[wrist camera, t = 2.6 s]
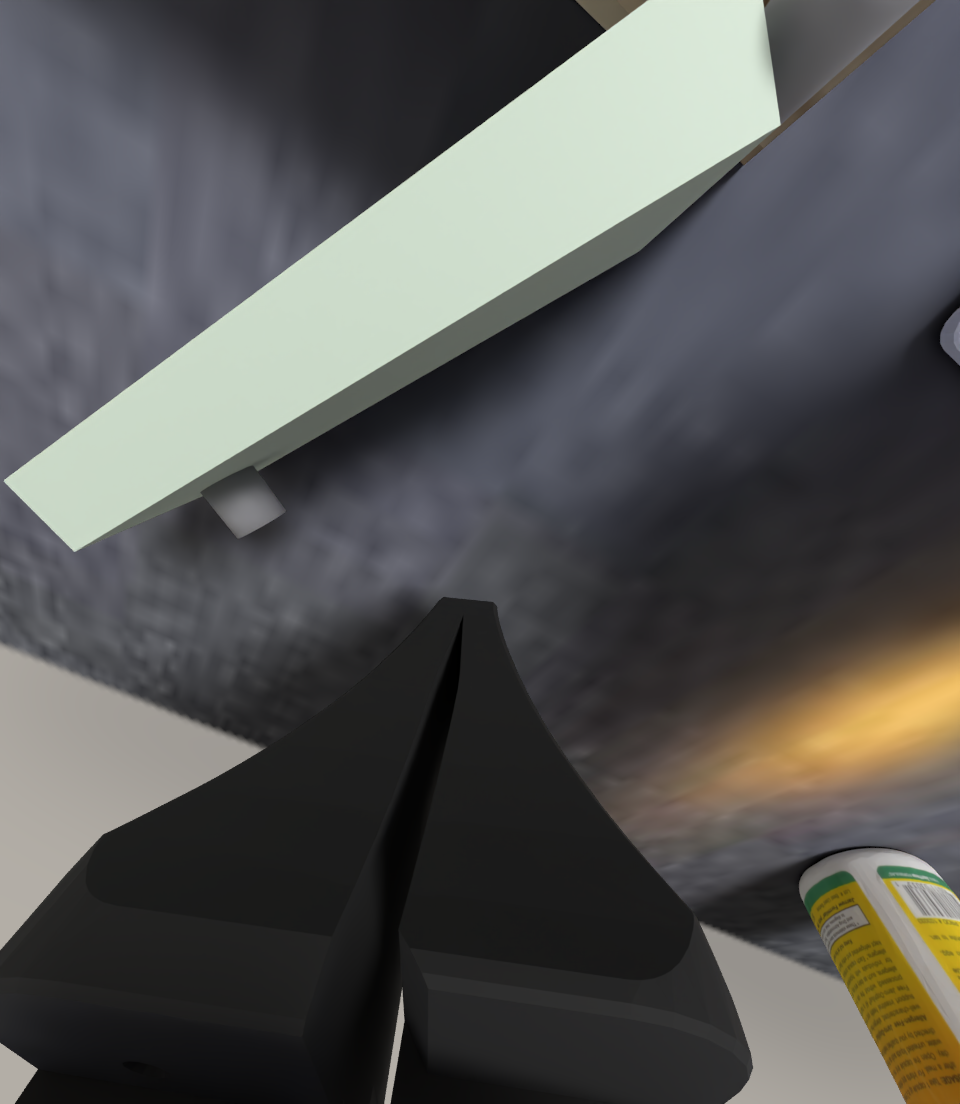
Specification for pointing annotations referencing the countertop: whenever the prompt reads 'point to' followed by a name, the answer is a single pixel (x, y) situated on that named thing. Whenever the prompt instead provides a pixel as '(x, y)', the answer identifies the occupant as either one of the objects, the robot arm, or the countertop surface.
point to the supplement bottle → (896, 960)
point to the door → (453, 256)
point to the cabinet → (613, 3)
